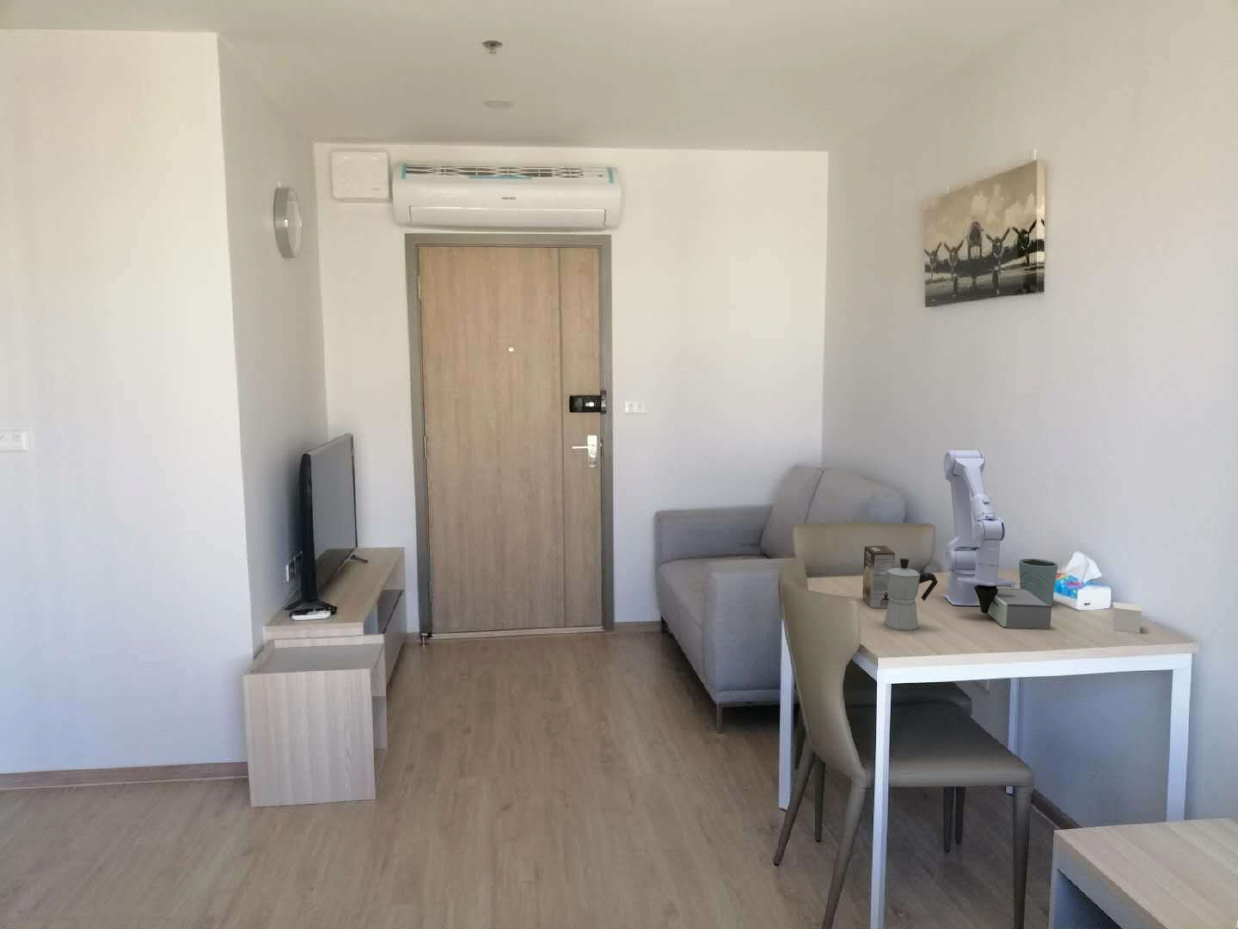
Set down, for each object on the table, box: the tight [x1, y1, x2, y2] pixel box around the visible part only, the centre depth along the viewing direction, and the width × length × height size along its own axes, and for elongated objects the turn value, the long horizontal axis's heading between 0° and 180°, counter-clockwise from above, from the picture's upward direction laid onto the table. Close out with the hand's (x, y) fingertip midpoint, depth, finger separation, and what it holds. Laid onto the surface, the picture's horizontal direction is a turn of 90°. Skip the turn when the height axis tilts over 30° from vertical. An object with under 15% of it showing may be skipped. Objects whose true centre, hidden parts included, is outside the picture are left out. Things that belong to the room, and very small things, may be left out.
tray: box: [988, 596, 1007, 628], centre depth 225 cm, size 16×11×6 cm
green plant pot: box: [1018, 558, 1059, 606], centre depth 241 cm, size 10×10×12 cm
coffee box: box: [862, 545, 896, 609], centre depth 239 cm, size 9×6×16 cm
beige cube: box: [1110, 601, 1142, 634], centre depth 218 cm, size 6×6×6 cm
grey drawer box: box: [996, 587, 1053, 630], centre depth 225 cm, size 16×11×6 cm
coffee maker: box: [879, 557, 939, 632], centre depth 218 cm, size 15×9×18 cm, turn 82°
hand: (984, 612), depth 227 cm, fingers closed
